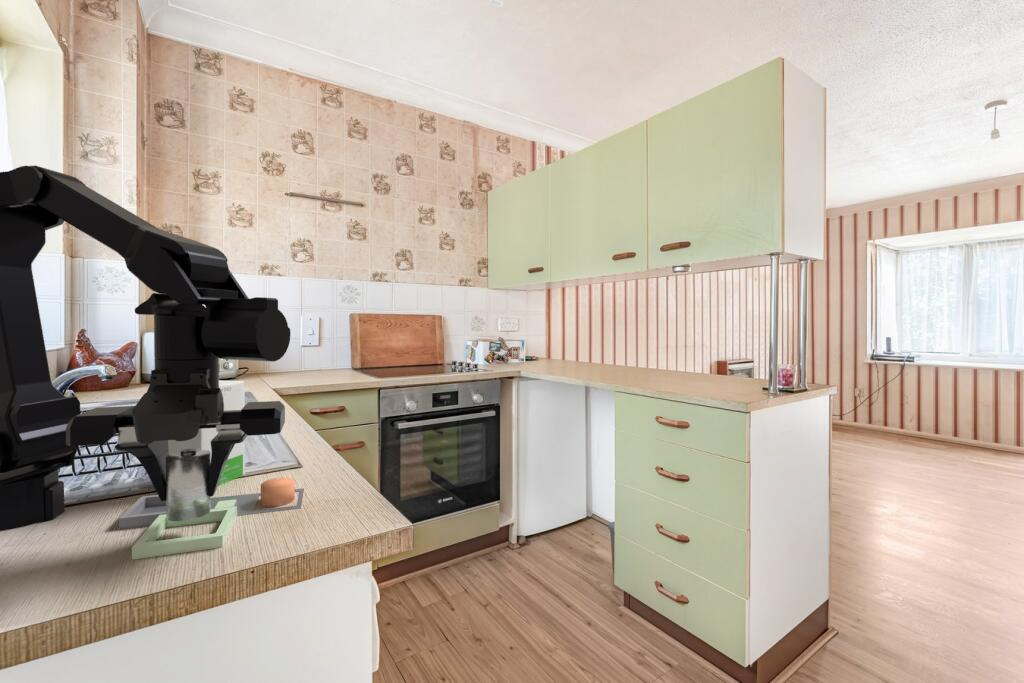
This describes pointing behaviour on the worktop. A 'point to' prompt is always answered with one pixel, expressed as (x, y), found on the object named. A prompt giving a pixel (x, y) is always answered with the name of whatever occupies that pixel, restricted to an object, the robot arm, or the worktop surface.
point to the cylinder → (277, 492)
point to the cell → (187, 485)
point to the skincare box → (202, 441)
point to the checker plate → (152, 507)
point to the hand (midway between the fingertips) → (188, 497)
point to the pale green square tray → (153, 548)
